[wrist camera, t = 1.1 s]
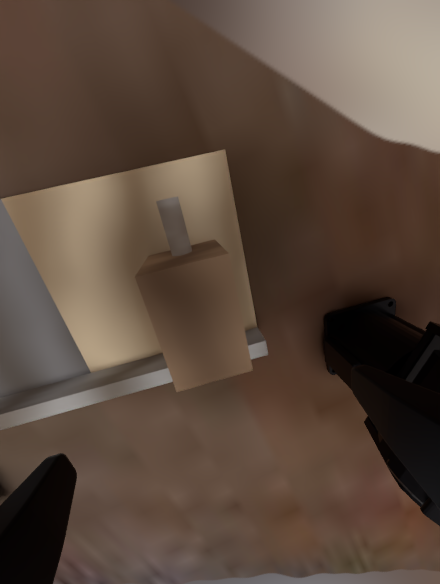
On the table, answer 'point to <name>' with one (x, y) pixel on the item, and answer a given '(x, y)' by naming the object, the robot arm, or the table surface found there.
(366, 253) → the table surface
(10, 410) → the board
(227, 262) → the brown block with peg
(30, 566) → the robot arm
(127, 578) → the table surface
